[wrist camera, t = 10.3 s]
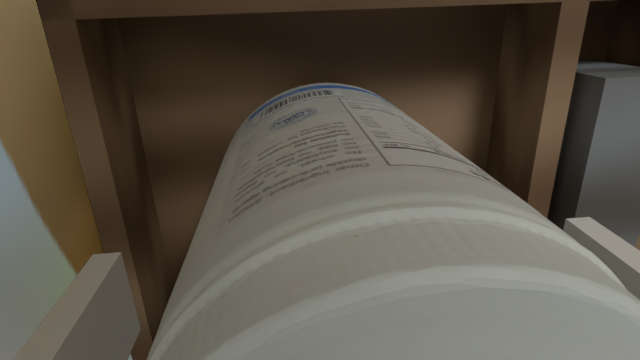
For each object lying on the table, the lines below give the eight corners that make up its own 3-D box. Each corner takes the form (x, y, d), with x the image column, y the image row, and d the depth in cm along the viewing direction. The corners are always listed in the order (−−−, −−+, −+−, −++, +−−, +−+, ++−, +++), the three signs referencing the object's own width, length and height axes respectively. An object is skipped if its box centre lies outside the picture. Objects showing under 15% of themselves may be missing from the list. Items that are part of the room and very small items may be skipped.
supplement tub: (355, 289, 22) (472, 716, 9) (188, 218, 20) (-1, 659, 6) (461, 137, 20) (867, 418, 6) (283, 32, 17) (302, 114, 4)
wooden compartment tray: (93, -9, 17) (14, -17, 12) (631, -26, 18) (762, -39, 13) (166, 326, 23) (136, 412, 18) (559, 290, 25) (630, 361, 20)
